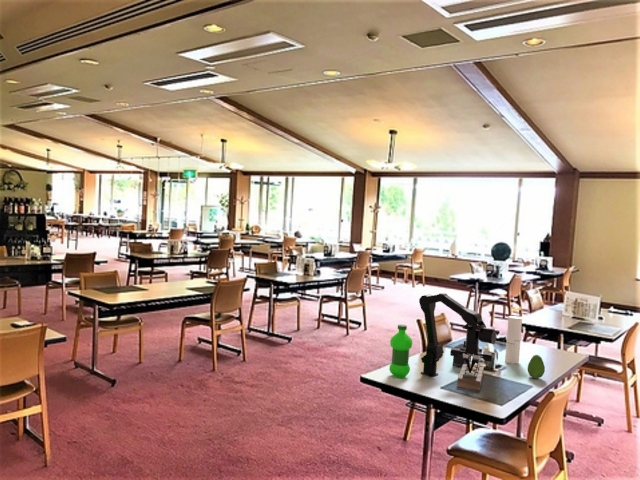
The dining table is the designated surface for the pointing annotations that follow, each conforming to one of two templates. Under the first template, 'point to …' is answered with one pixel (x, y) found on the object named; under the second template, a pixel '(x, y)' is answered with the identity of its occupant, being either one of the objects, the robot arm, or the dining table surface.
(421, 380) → the dining table surface
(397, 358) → the plastic bottle
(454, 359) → the small box
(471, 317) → the robot arm
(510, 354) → the cylindrical container
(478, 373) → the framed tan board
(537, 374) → the avocado
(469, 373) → the button sage
